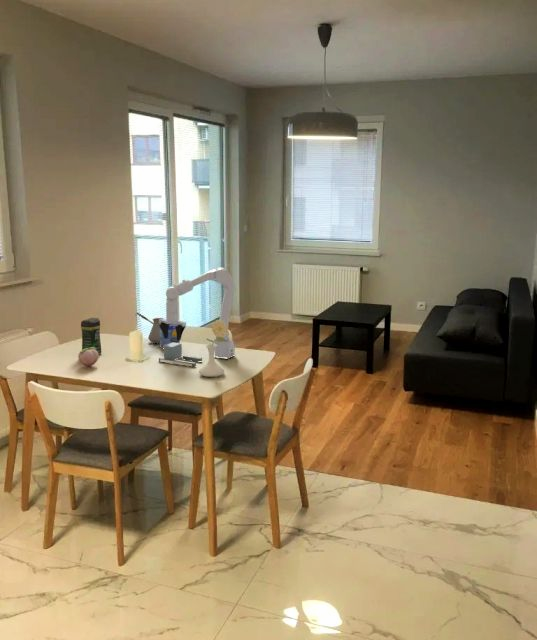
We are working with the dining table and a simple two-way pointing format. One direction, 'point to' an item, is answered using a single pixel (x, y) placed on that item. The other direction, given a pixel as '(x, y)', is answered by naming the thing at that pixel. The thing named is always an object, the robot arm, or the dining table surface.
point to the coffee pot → (153, 329)
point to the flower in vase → (212, 367)
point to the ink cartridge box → (169, 336)
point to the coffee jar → (91, 334)
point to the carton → (173, 350)
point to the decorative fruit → (88, 356)
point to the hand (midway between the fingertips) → (172, 339)
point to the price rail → (182, 361)
